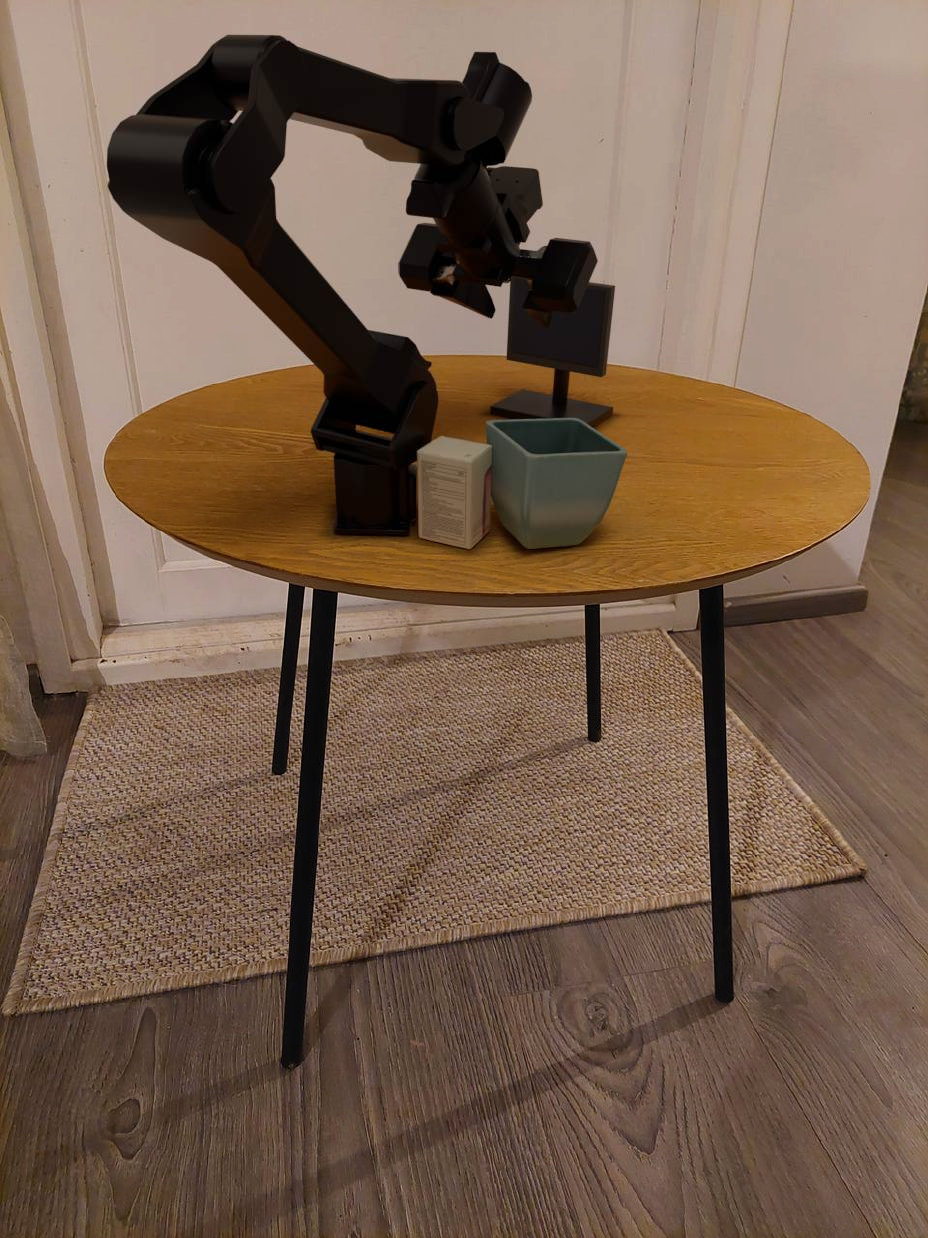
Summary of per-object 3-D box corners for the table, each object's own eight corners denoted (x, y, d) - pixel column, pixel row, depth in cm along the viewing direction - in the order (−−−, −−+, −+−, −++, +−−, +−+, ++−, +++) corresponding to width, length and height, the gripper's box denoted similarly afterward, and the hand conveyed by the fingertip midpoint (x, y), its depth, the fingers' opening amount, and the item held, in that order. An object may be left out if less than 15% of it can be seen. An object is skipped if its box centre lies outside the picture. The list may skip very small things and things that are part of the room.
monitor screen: (601, 377, 99) (610, 287, 95) (505, 360, 105) (509, 273, 100) (606, 375, 100) (615, 285, 95) (511, 357, 106) (515, 271, 101)
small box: (491, 531, 78) (495, 443, 74) (469, 551, 75) (472, 461, 71) (439, 519, 80) (440, 433, 76) (416, 538, 77) (415, 449, 72)
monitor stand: (584, 434, 100) (590, 368, 96) (489, 414, 105) (492, 350, 101) (612, 415, 106) (619, 352, 102) (521, 396, 111) (525, 336, 107)
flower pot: (563, 512, 82) (578, 415, 78) (611, 554, 75) (630, 450, 71) (474, 519, 79) (484, 419, 75) (516, 564, 72) (529, 456, 68)
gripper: (600, 139, 75) (634, 262, 89) (413, 128, 83) (471, 242, 97) (551, 252, 74) (593, 359, 87) (365, 230, 82) (431, 331, 95)
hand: (520, 318), depth 92 cm, fingers open, 6 cm apart
